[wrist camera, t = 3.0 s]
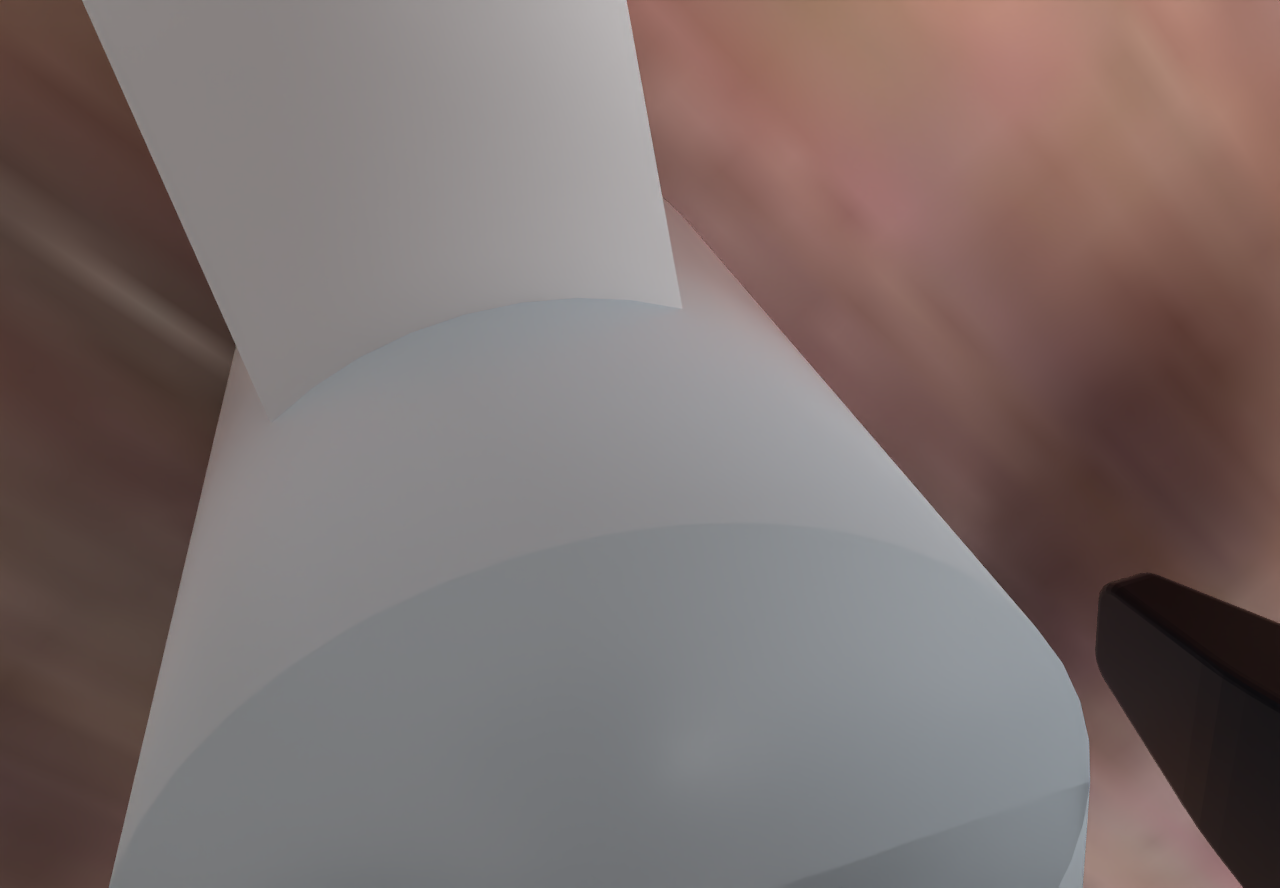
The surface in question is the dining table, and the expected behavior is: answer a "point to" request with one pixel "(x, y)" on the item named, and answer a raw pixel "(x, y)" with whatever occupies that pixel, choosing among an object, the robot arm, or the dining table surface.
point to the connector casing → (539, 506)
